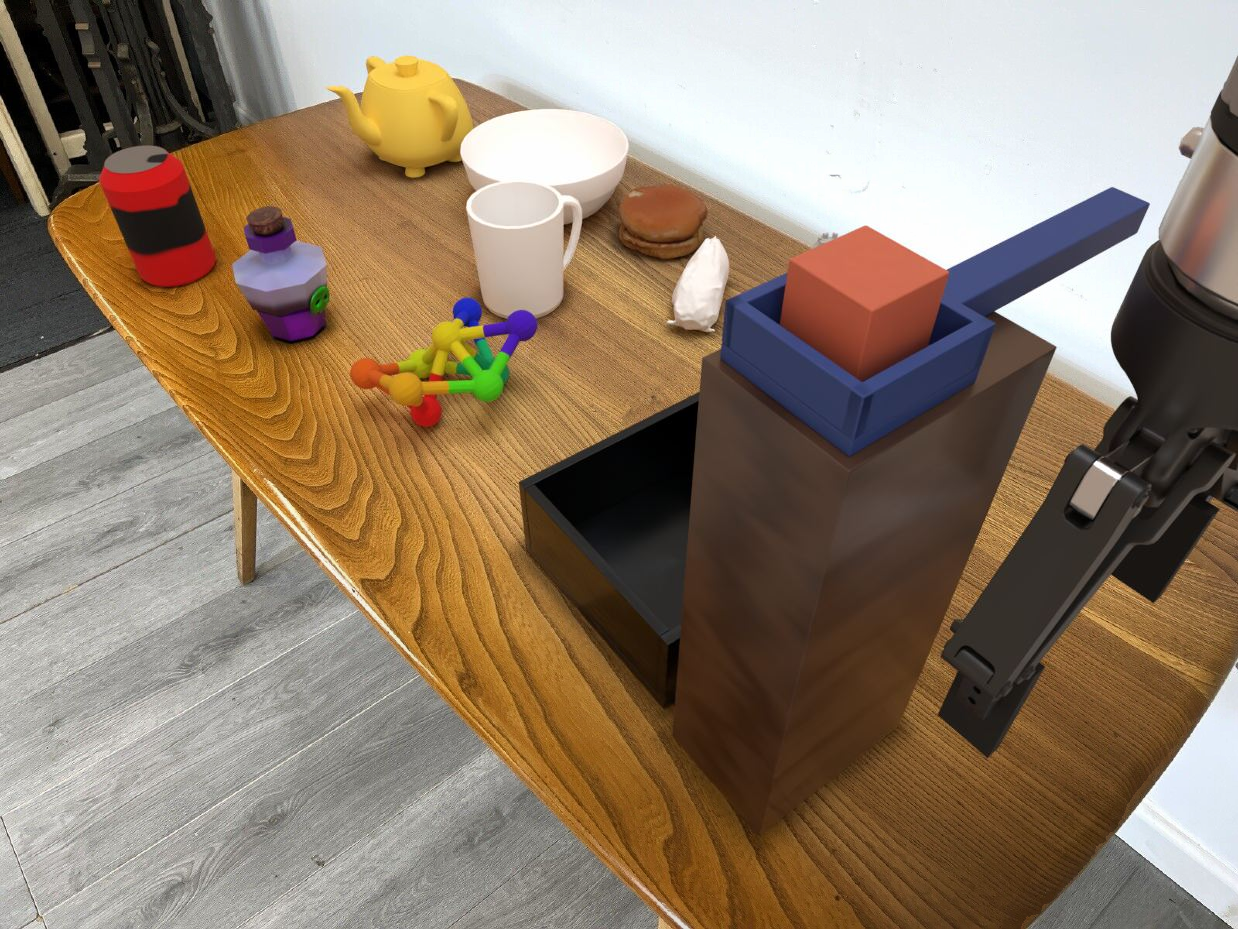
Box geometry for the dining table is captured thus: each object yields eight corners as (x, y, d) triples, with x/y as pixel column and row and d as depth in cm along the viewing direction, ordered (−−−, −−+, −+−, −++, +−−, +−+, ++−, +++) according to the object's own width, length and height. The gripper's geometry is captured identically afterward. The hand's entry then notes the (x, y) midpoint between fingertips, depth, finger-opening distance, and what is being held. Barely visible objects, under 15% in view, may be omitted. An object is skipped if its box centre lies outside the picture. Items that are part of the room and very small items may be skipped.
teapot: (370, 132, 118) (351, 36, 110) (482, 132, 118) (471, 36, 110) (346, 184, 108) (323, 83, 100) (468, 185, 108) (455, 83, 100)
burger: (697, 266, 96) (700, 225, 92) (610, 256, 97) (609, 216, 94) (710, 218, 103) (713, 179, 99) (628, 210, 104) (629, 171, 101)
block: (924, 361, 35) (950, 271, 32) (851, 401, 33) (872, 310, 31) (847, 311, 37) (865, 223, 35) (775, 347, 36) (788, 258, 33)
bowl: (514, 266, 96) (508, 203, 91) (441, 193, 107) (432, 132, 102) (659, 218, 103) (661, 156, 98) (577, 153, 114) (575, 95, 109)
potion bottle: (332, 354, 85) (301, 239, 77) (239, 353, 85) (198, 239, 77) (352, 300, 91) (325, 189, 83) (265, 300, 92) (229, 188, 83)
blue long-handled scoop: (1188, 256, 42) (1216, 200, 40) (848, 457, 33) (863, 397, 31) (1055, 195, 46) (1074, 141, 44) (719, 358, 37) (725, 299, 35)
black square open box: (845, 587, 66) (864, 519, 61) (664, 710, 59) (668, 645, 54) (697, 457, 76) (702, 389, 70) (525, 550, 69) (518, 481, 63)
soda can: (207, 286, 93) (166, 176, 85) (131, 290, 93) (82, 180, 84) (224, 246, 99) (186, 139, 90) (151, 250, 98) (107, 142, 90)
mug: (495, 333, 88) (483, 237, 80) (466, 284, 93) (453, 191, 86) (601, 305, 91) (599, 211, 84) (567, 260, 97) (563, 168, 89)
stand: (899, 726, 58) (1057, 346, 37) (758, 837, 53) (849, 471, 32) (809, 640, 63) (904, 259, 42) (672, 735, 58) (701, 357, 37)
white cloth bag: (673, 291, 95) (662, 328, 86) (690, 228, 91) (682, 260, 83) (719, 304, 95) (713, 342, 86) (739, 241, 91) (735, 274, 83)
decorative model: (328, 353, 79) (470, 258, 82) (381, 428, 84) (512, 335, 88) (379, 405, 69) (537, 295, 72) (435, 486, 74) (579, 380, 78)
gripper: (1329, 125, 37) (1125, 491, 52) (930, 366, 26) (817, 742, 41) (1551, 199, 33) (1259, 574, 48) (1186, 523, 22) (956, 879, 37)
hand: (1055, 653), depth 44 cm, fingers open, 13 cm apart
